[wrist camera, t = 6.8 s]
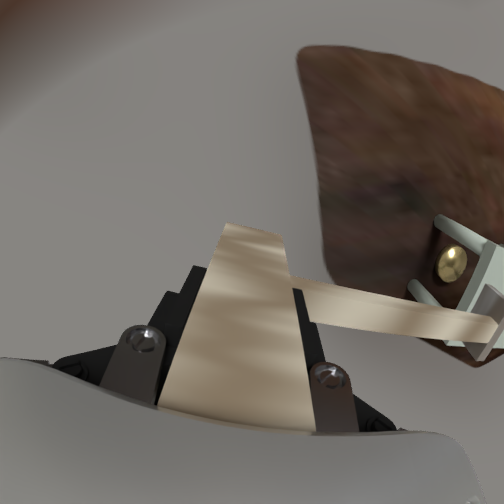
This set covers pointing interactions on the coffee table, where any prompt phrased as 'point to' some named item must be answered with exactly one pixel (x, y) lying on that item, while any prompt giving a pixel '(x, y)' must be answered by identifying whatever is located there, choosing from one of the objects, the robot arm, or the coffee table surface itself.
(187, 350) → the hoe
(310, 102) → the coffee table surface
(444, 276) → the token
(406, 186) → the coffee table surface
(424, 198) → the coffee table surface
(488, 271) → the stand
